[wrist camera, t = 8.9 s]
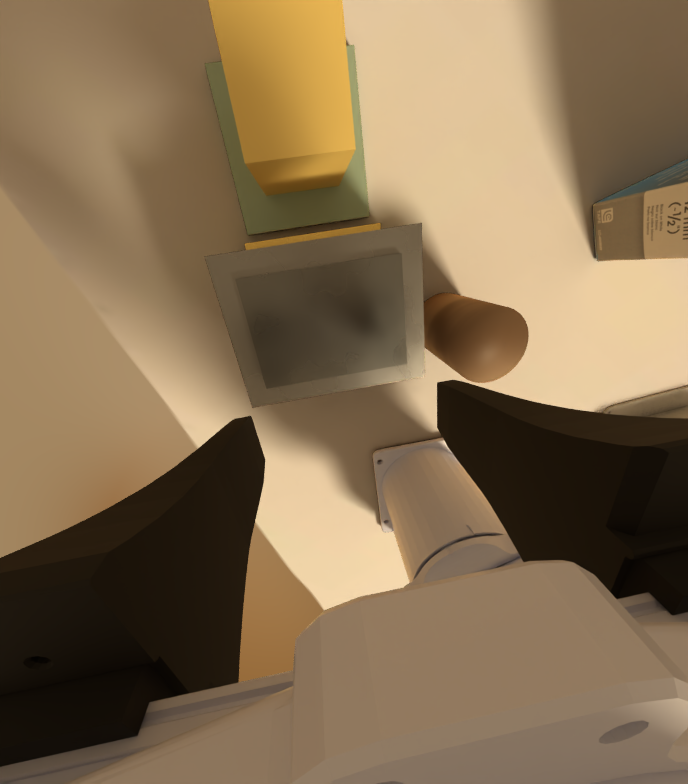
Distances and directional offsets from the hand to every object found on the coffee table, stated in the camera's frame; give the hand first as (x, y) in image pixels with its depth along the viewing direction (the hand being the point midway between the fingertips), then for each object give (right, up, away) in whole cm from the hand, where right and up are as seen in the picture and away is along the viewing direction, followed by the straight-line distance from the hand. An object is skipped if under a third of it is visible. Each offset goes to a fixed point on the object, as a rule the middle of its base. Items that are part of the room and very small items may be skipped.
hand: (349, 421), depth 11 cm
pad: (-3, +14, +4) cm, 15 cm away
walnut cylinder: (+7, +6, +9) cm, 13 cm away
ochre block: (-3, +14, +4) cm, 15 cm away
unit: (-2, +7, +8) cm, 10 cm away
